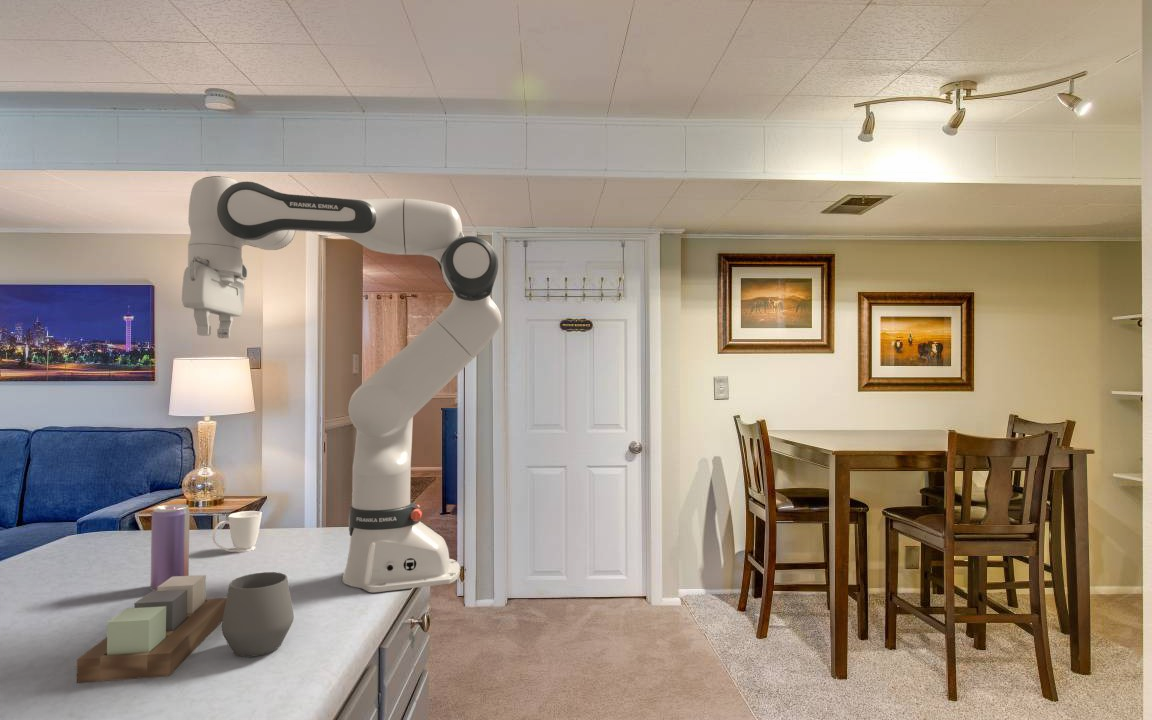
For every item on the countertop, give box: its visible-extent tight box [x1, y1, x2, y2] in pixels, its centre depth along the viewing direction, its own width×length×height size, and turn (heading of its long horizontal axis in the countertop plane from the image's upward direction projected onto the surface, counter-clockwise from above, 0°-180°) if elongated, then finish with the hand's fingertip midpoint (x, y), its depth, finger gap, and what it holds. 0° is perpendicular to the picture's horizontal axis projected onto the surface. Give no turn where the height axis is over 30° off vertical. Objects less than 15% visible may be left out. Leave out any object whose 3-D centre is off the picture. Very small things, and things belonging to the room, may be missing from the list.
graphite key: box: [133, 590, 187, 632], centre depth 94 cm, size 5×5×4 cm
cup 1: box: [212, 510, 263, 553], centre depth 143 cm, size 7×10×8 cm
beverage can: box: [150, 503, 191, 591], centre depth 119 cm, size 6×6×15 cm
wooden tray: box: [76, 597, 227, 683], centre depth 94 cm, size 11×21×3 cm, turn 10°
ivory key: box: [157, 574, 207, 613], centre depth 101 cm, size 5×5×4 cm
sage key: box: [106, 606, 166, 655], centre depth 87 cm, size 5×5×4 cm
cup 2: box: [220, 571, 295, 658], centre depth 93 cm, size 10×9×10 cm
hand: (214, 337), depth 120 cm, fingers open, 8 cm apart
